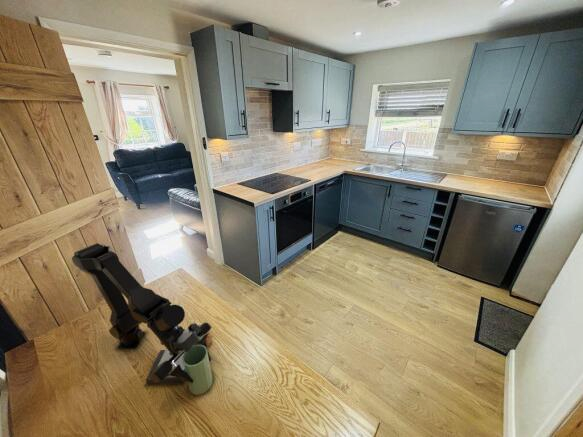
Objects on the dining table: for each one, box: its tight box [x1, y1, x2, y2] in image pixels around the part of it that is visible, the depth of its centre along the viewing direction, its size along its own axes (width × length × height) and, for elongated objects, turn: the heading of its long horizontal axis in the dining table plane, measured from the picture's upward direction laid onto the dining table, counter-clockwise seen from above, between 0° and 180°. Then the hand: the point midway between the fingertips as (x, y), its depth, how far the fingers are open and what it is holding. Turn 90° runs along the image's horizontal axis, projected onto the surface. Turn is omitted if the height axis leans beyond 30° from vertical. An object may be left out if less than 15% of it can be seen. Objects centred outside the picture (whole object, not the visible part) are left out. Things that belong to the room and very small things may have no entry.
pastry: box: [197, 324, 212, 348], centre depth 87 cm, size 9×7×4 cm
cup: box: [182, 345, 213, 396], centre depth 72 cm, size 7×7×13 cm
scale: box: [145, 349, 186, 386], centre depth 78 cm, size 11×10×3 cm
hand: (201, 371), depth 71 cm, fingers closed on cup, 7 cm apart
